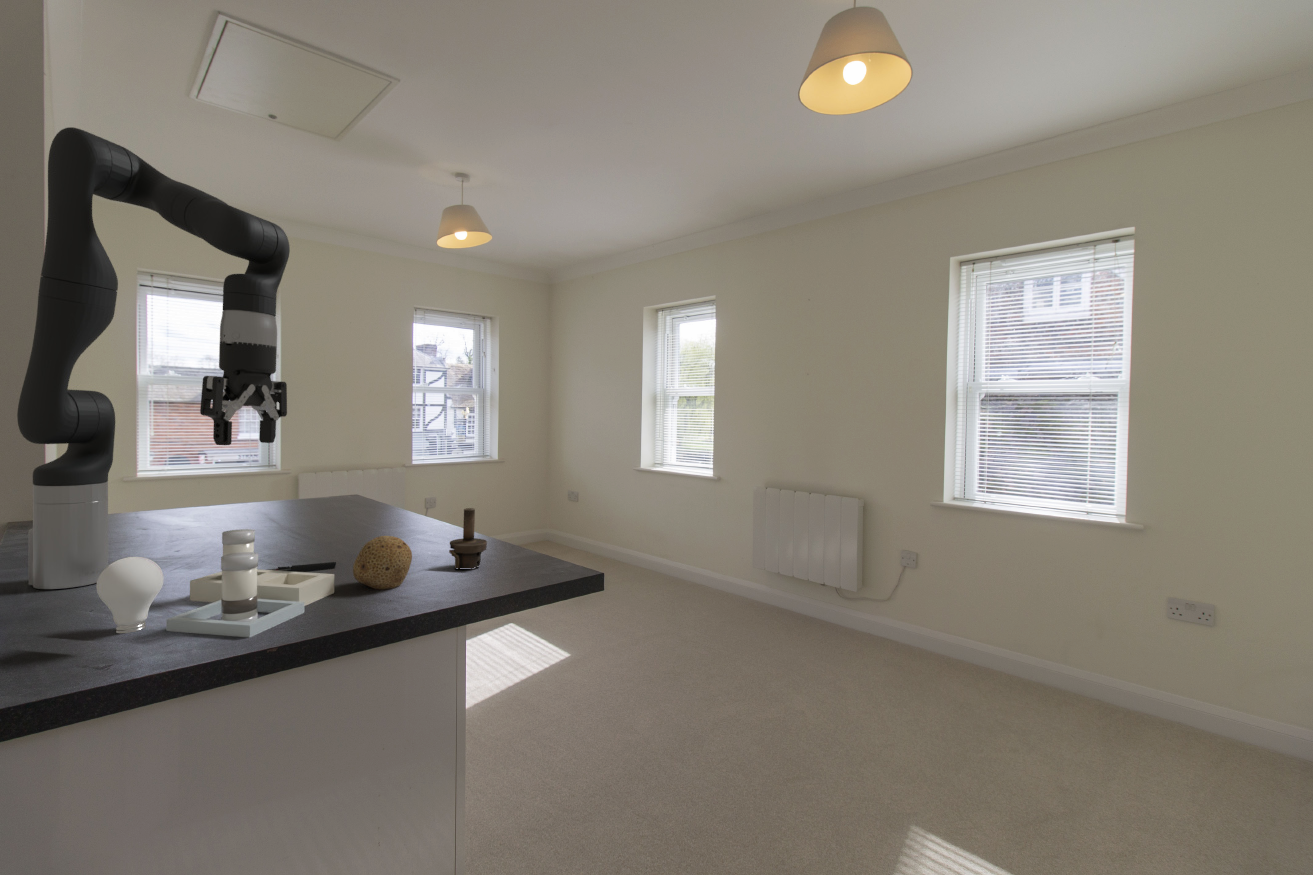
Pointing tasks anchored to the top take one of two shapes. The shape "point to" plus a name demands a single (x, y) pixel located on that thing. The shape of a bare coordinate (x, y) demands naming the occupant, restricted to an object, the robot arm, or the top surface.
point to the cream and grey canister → (239, 587)
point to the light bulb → (130, 591)
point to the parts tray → (200, 624)
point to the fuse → (238, 541)
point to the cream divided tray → (270, 586)
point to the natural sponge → (383, 563)
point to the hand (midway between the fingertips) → (245, 443)
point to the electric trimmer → (307, 567)
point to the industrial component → (468, 544)
